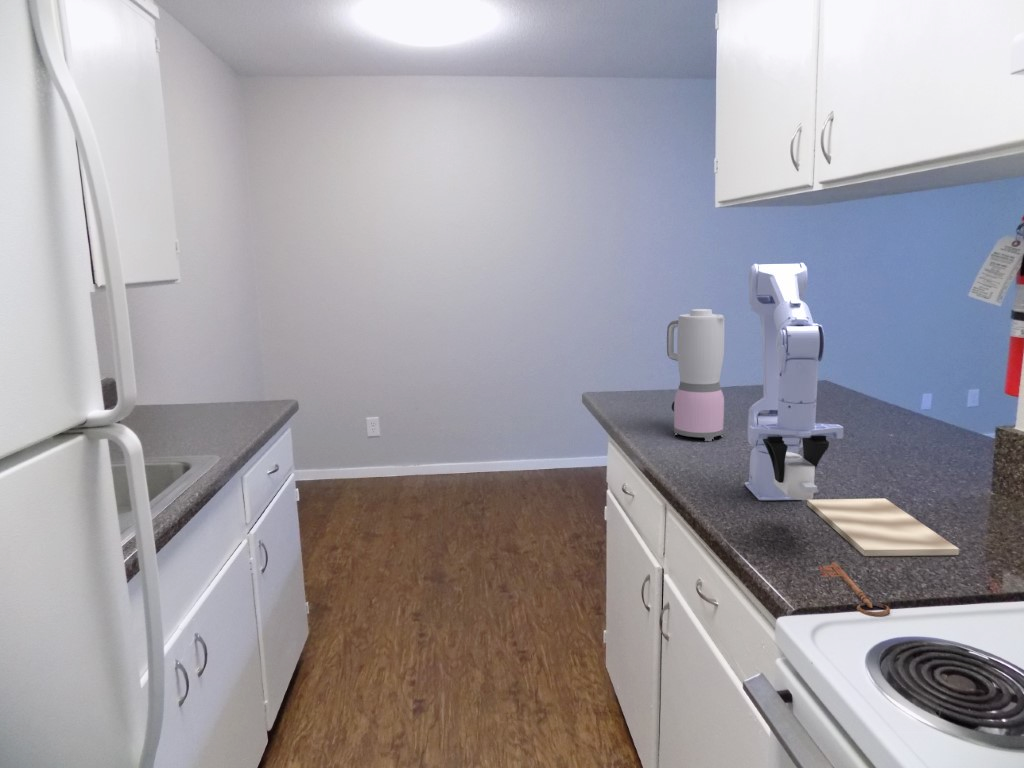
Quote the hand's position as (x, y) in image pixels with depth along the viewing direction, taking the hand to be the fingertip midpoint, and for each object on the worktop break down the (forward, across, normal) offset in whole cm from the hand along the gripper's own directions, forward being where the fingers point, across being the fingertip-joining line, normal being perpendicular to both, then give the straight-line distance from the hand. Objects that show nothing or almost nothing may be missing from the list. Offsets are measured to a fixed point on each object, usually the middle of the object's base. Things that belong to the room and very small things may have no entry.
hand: (793, 480), depth 114 cm
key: (+9, 0, -21) cm, 23 cm away
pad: (+8, +14, 0) cm, 16 cm away
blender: (+9, -2, +62) cm, 63 cm away
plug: (+2, 0, -1) cm, 2 cm away
